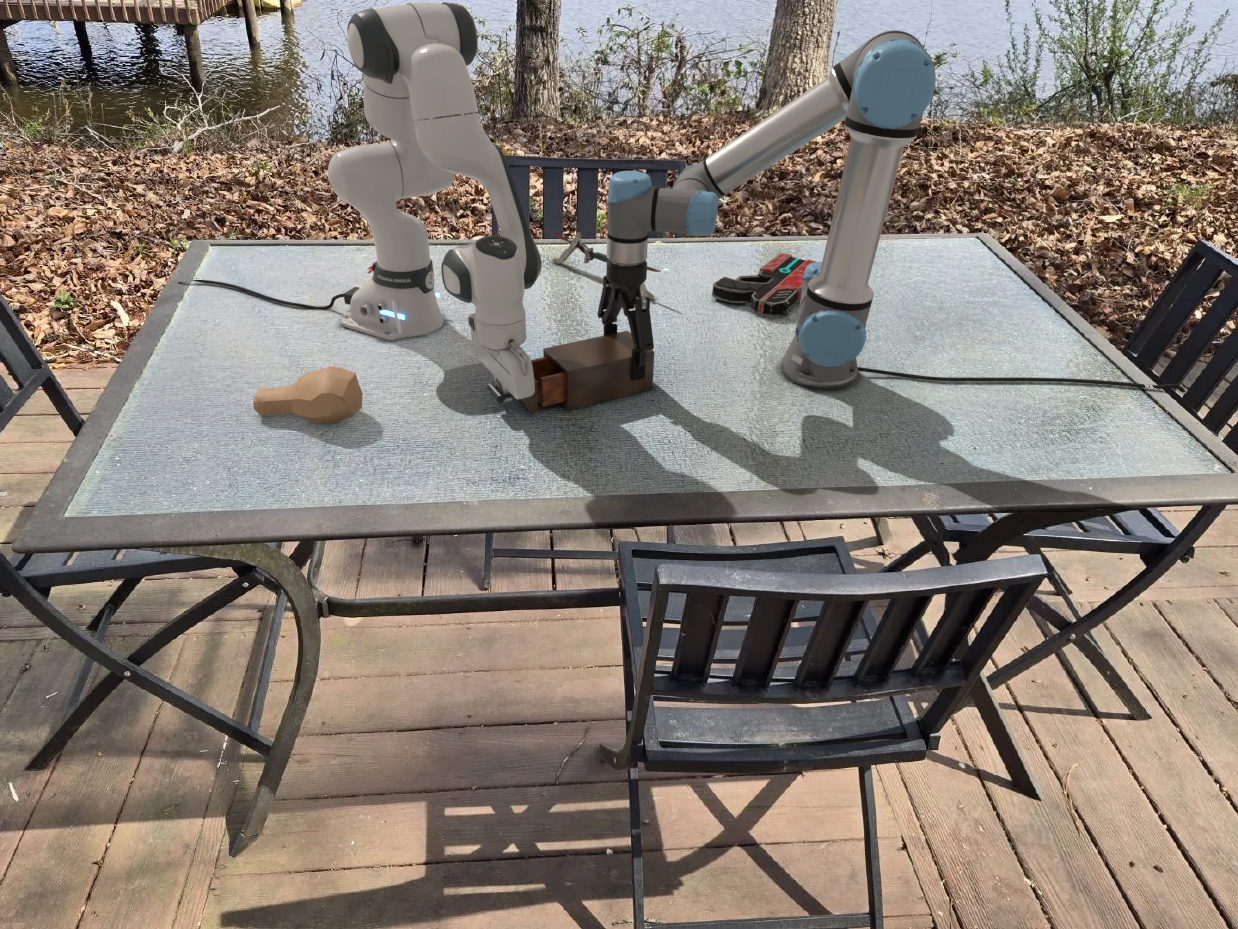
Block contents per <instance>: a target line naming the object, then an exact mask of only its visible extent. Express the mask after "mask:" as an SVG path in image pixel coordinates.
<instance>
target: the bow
mask: <svg viewBox="0 0 1238 929" xmlns="http://www.w3.org/2000/svg"><path fill="white" fill-rule="evenodd" d="M546 232H547V233H548V234H550V235H551V236H553V237H554V238H555V237H556V238H558V239H559V240H562V241H565V242H568V243H569V246H568V247H567V248H565V249H564V251H562V253H561V254H560V256H559V257H558V258H557V257H555V258H553V259H552V262H553V263H555V264H558V265H559V264H560V265H562V266H565V267H568V268H570V269H573V270H576V271H577V272H578V271H579V272H581V273H584V274H587V275H589V276H592V277H595V278H597V279H600V280H602V281H603V277H602V278H601V277H599V276H596V275H594V274H591V273H588V272H585V271H584V270H581V269H577V268H575V267H573V266H570V265H568V264H564V262H566V261H567V260H568V259H569V257H570V256H571V255H572V254H573V252H574V251H576V250H577V249H578V250H579V251H580V252H581V253H583V254H584V258H583V264H585V265H586V264H589V263H590V262H591V261H593V260H594V259H595V260H598V261H601V262H603V263H606V264H607V260H608V258H607V254H604V253H602V252H597V251H596V252H595V251H594V247H588V246H587V244H585V243H582V242H581V241H582V233H581V231H580V232H577V233H576V235H575V237H574V238H573V239H571V240H569V239H568V238H566V237H564V236H563V235H560V234H557V233H555V232H552V231H549V230H546ZM647 271H648V272H649V271H650V272H655V273H661V272H662V270H659V269H656V268H654V267H651V266H648V265H647ZM640 291H641V296H643V297H644V298H646V297H649V298H650V300H651V299H652V298H655V295H654V294H653V293H651V292H650V290H648V289H647V287H646V284H645V282H643V283H642V285H641V286H640Z"/></svg>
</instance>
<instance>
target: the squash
mask: <svg viewBox="0 0 1238 929" xmlns="http://www.w3.org/2000/svg"><path fill="white" fill-rule="evenodd" d="M255 392H256V393H255V394H254V398H253V400H252V401H253V410H254V411H255V412H256V413H257V414H259V416H261V417H263V416H264V417H265V416H273V415H292V416H298V417H299V418H302V419H304V420H306V421H308V422H311V423H313V424H315V425H317V426H319V425H337V424H339V423H340V422H342V421H345V420H346V419H349V418H350V417H352V416H354V415H356V414H357V413H358V412H359V411H360V410H361V409H362V408H363V391H362V388H361V386H360V383H359V380H358V377H357V373H356V372H354V371H352V370H348V369H345V368H343V367H337V366H332V365H329V366H326V367H323V368H320V369H317V370H312V371H311V370H310V371H306V372H305V373H303V374H302V375H300V376H298V379H297V380H296V381H295V382H293V383H291V384H289V385H288V386H280V387H273V388H272V387H260V388H257V389H256V391H255Z"/></svg>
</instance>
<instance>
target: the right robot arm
mask: <svg viewBox="0 0 1238 929" xmlns="http://www.w3.org/2000/svg"><path fill="white" fill-rule="evenodd" d="M936 79H937V75H936V69H935V65H934V62H933V60H932V58H931V56H930V54H929V53H928V51H927V50H926V49H925V48H924V45H923V44H922V42H921V41H920V40H919V39H918V38H917V37H915V36H914V35H913V34H911V33H909V32H907V31H904V30H897V29H896V30H895V29H893V30H886V31H882V32H880V33H878V34H875V35H873V36H872V37H871V38H870V39H867V41H865V42H864V43H863V44H862V45H860V46H859V47H857V49H855V50H854V51H853V52H851V53H850V54H849V55H847V56H846V57H845V58H843V59H842V60H841V61H839V62H838V63H836V64H835V65H833V66H832V67H831V68H830V71H829V74H828V77H826V78H824V79H823V80H822V81H820V82H819V83H817V84H816V85H814V86H813V87H811V88H809V89H808V90H807V91H805V92H804V93H802V94H800V95H799V96H798V97H796V98H794V99H793V100H792V101H790V102H788V103H787V104H785V105H784V106H783V107H780V108H779V109H778V110H777V111H775V112H774V113H772V114H771V115H769V116H768V117H766V118H764V119H763V120H761V121H760V122H758V123H757V124H755V125H754V126H753V127H751V128H750V129H748V130H746V131H745V132H744V133H742V134H740V135H739V136H737V137H735V138H734V139H733V140H731V141H730V142H728V143H727V144H725V145H724V146H722V147H721V148H719V149H718V150H716V151H715V152H713V153H711V155H709V156H708V157H706V158H705V159H703V160H702V161H699V162H698V163H696V164H693V165H689V166H687V167H686V168H684V169H683V170H682V171H681V172H680V173H679V174H678V176H677V177H676V178H675V181H674V184H673V186H672V188H666V187H665V188H664V187H658V186H657V187H656V186H653V183H652V178H651V176H650V174H648V173H646V172H640V171H639V170H638V171H637V170H621V171H618V172H616V173H614V174H612V175H611V177H610V178H609V182H608V194H607V199H606V203H607V233H606V234H607V235H606V255H607V258H608V260H607V263H606V271H605V275H603V277H602V279H603V280H602V289H601V294H600V300H599V304H598V309H597V317H598V319H601V324H602V325H603V335H602V336H604V335H609V334H614V333H618V324H617V322H619V321H618V316H619V314H620V312H621V310H622V312H623V315H624V316H625V317H627V321H628V326H629V331H630V333H631V335H632V339H633V343H634V347H635V348H634V349H631V350H632V363H631V380H632V381H635V380H639V379H643V378H645V365H646V352H647V351H649V350H653V351H654V349H655V345H654V335H653V334H654V333H653V326H652V319H651V311H650V310H651V299H650V298H649V297H644V296H643V295H642V292H641V291H640V286H641V285H642V283H643V282H644V283H645V282H646V281H647V275H648V270H647V266H648V261H647V259H648V246H649V242H650V241H649V232H657V233H658V232H659V233H660V232H661V233H666V234H667V233H668V234H679V235H687V236H692V237H696V236H703V237H704V236H705V237H707V236H711V235H713V234H714V233H715V231H716V226H717V220H718V212H719V210H718V209H719V200H721V199H722V198H723V197H724V196H726V195H727V194H729V193H730V192H732V191H734V190H735V189H737V188H738V187H740V186H741V185H743V184H745V183H746V182H748V181H749V180H752V179H753V178H754V177H756V176H757V175H759V174H761V173H762V172H764V171H765V170H767V169H769V168H770V167H772V166H773V165H775V164H776V163H779V161H781V160H783V159H784V158H786V157H788V156H789V155H791V154H792V153H794V152H795V151H797V150H799V149H800V148H802V147H804V146H806V145H807V144H808V143H810V142H812V141H813V140H815V139H817V138H818V137H819V136H821V135H823V134H824V133H826V132H828V131H829V130H830V129H832V128H833V127H835V126H837V125H838V124H840V123H842V122H843V121H844V124H843V126H844V129H845V130H846V132H847V133H848V134H849V136H850V139H849V144H848V148H847V153H846V158H845V162H844V166H843V170H842V175H841V179H840V183H839V187H838V192H837V196H836V201H835V205H834V209H833V212H832V213H833V214H832V217H831V222H830V226H829V230H828V235H827V240H826V245H825V249H824V253H823V256H822V261H816V262H815V263H811V264H809V265H808V266H807V267H806V269H805V273H804V276H803V286H802V293H801V299H800V301H799V305H798V306H799V307H798V313H797V320H796V326H795V333H794V336H793V338H792V339H791V342H790V344H789V345H788V347H787V349H786V351H785V353H784V355H783V357H782V360H781V365H780V366H781V368H780V369H781V373H782V375H783V376H784V377H785V378H786V379H787V380H789V381H791V382H792V383H794V384H796V385H799V386H801V387H804V388H808V389H813V390H819V391H820V390H821V391H831V390H832V391H833V390H841V389H844V388H847V387H849V386H851V385H853V384H854V383H855V381H856V379H857V375H858V372H864V373H872V374H880V375H886V376H892V377H900V378H906V379H907V378H908V379H914V380H923V381H936V382H1041V383H1042V382H1043V383H1044V382H1045V383H1046V382H1047V383H1074V384H1075V383H1076V384H1093V385H1106V386H1107V385H1108V386H1119V387H1120V386H1121V387H1130V388H1141V389H1146V388H1145V385H1144V384H1145V383H1135V382H1127V381H1116V380H1115V381H1113V380H1104V379H1103V380H1101V379H1087V378H1086V379H1085V378H1067V377H1066V378H1065V377H952V376H951V377H948V376H947V377H945V376H930V375H920V374H913V373H906V372H905V373H904V372H898V371H889V370H883V369H877V368H875V369H874V368H868V367H860V366H858V362H857V357H858V356H859V355H860V354H861V352H863V349H864V347H865V343H866V341H867V330H866V326H867V321H868V319H869V315H870V311H871V307H872V304H873V299H874V296H875V294H874V291H873V289H872V287H870V285H869V281H870V278H871V273H872V270H873V265H874V261H875V259H876V255H877V251H878V247H879V243H880V239H881V235H882V231H883V227H884V225H885V220H886V217H887V214H888V213H887V212H888V209H889V205H890V202H891V197H892V193H893V190H894V187H895V183H896V179H897V175H898V173H899V172H898V171H899V168H900V163H901V160H902V156H903V153H904V149H905V147H906V145H908V144H909V143H911V142H912V141H913V140H915V139H916V138H917V137H918V134H919V130H920V127H921V123H922V121H923V120H922V119H923V115H924V112H925V111H926V109H928V107H929V105H930V102H931V101H932V99H933V97H934V93H935V89H936V81H937V80H936ZM1151 385H1152V386H1153V387H1154V388H1156V389H1154V388H1153V389H1152V390H1162V389H1176V390H1178V391H1179V392H1181V393H1186V390H1185V389H1184V387H1182V386H1181V385H1179V384H1178V383H1177V384H1176V383H1166V384H1151ZM1149 387H1150V386H1149ZM1118 560H1120V561H1122V560H1123V557H1119V558H1118Z"/></svg>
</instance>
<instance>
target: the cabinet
mask: <svg viewBox="0 0 1238 929" xmlns="http://www.w3.org/2000/svg"><path fill="white" fill-rule="evenodd" d="M603 335H604V334H603ZM603 335H599V336H595V337H591V338H585V339H581V340H577V341H573V342H567V343H562V344H559V345H553V346H549V347H544V348H542V351H543V352H542V354H543V355H542V356H543V357H547V356H548V357H549V358H550V359H551V360H552V361H553V362H554V363H555V364H556V365H557V366H558V367H559V368H560V369H561V370H562V371H563V372H564V373H565V374H566V401H565V402H561V403H560V404H561V405H562V406H563V407H564V408H565V409H566V410H567V411H571V410H575V409H578V408H583V407H587V406H591V405H595V404H600V403H603V402H608V401H611V400H615V399H619V398H623V397H626V396H632V395H635V394H638V393H643V392H647V391H651V390H653V389H654V388H653V387H654V368H655V351H654V349H653V350H649V351H647V352H646V365H645V378H643V379H639V380H635V381H632V380H631V363H632V350H631V349H634V348H635V347H634V343H633V339H632V335H631V331H630V330H623V331H619V332H618V331H617V333H614V334H609V335H604V336H603ZM543 357H542V358H543Z"/></svg>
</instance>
